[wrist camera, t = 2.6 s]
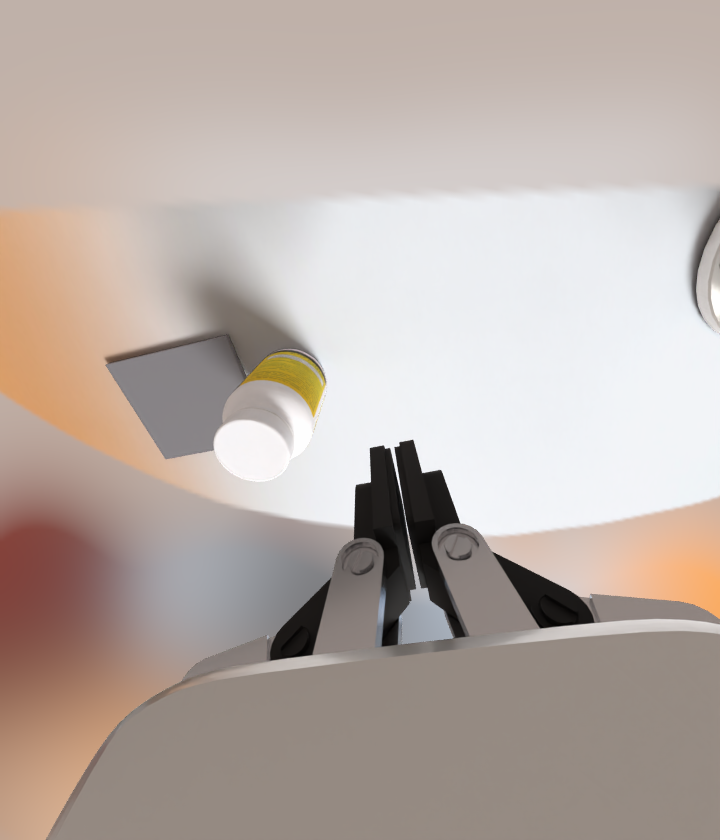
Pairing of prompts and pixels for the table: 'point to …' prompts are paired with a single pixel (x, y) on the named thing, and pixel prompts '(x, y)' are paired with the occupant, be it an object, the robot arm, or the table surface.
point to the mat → (181, 392)
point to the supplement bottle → (271, 415)
